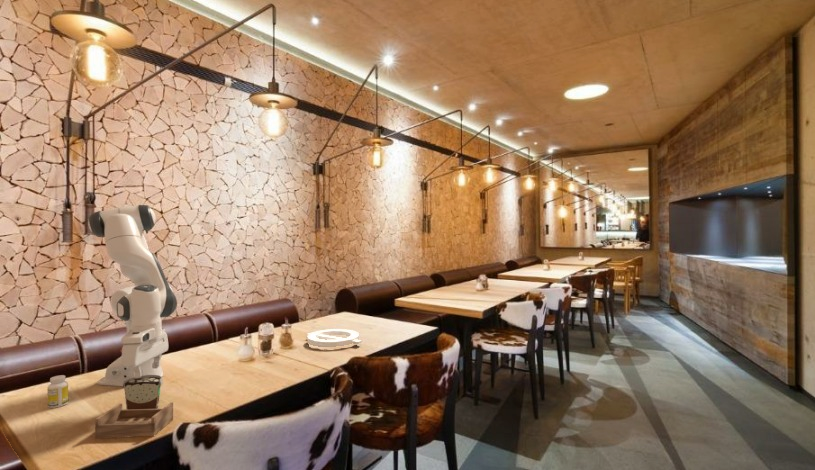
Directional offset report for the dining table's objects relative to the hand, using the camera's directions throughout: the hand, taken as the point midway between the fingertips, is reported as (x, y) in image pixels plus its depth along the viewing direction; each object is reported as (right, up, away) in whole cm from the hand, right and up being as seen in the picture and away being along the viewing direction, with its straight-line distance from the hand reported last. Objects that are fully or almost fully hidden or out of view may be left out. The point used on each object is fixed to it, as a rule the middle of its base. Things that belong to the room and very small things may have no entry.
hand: (147, 372), depth 135 cm
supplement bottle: (-33, -12, +1) cm, 35 cm away
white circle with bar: (+49, -13, +82) cm, 96 cm away
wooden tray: (+7, -12, -15) cm, 20 cm away
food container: (-1, -12, +1) cm, 12 cm away
